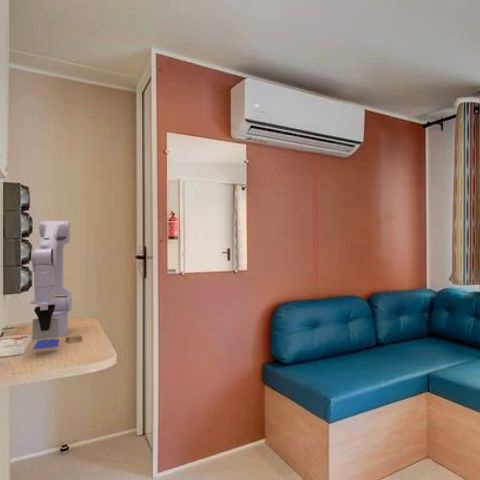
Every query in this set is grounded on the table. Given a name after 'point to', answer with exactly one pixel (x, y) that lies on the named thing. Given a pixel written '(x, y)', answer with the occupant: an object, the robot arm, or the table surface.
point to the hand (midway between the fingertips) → (45, 329)
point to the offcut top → (73, 338)
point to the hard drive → (46, 344)
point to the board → (45, 334)
